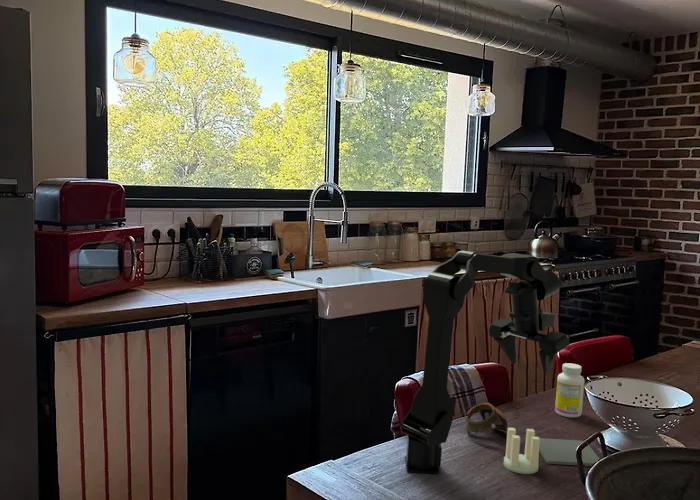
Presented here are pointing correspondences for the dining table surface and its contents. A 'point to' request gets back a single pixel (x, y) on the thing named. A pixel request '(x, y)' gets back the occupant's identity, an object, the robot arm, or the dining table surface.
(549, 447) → the mat
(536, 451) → the stool
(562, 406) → the supplement bottle
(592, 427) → the dining table surface
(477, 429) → the brown curved piece
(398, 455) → the dining table surface
